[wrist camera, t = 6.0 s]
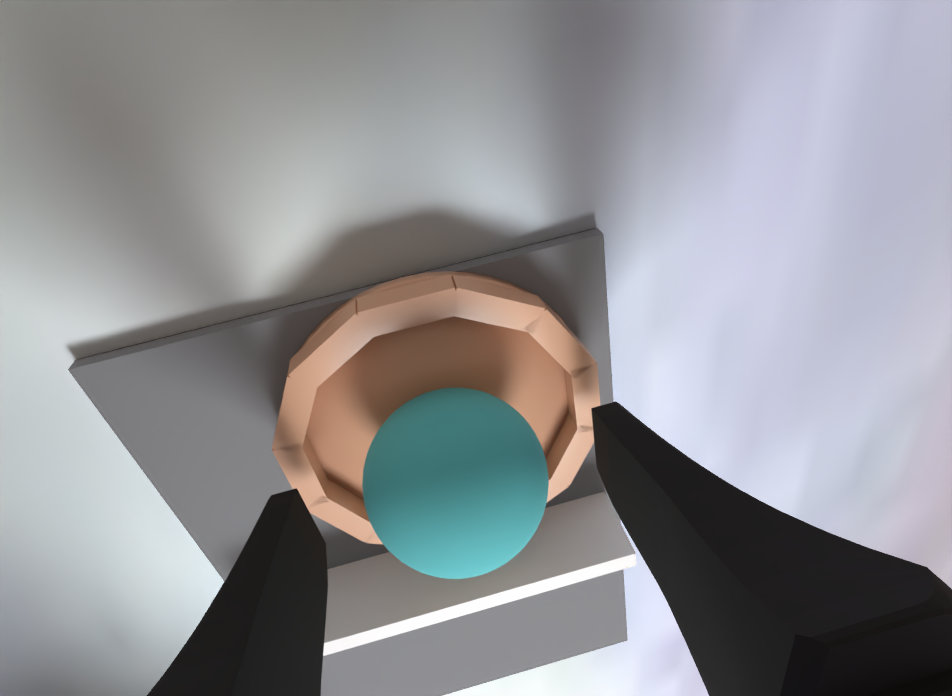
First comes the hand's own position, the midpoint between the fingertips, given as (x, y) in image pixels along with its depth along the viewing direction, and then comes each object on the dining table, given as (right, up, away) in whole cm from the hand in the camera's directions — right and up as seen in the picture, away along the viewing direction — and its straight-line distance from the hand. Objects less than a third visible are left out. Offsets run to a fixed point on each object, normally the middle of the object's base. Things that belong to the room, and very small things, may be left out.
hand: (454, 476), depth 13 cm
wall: (-1, -3, +5) cm, 6 cm away
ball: (0, +1, +2) cm, 2 cm away
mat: (-1, -3, +5) cm, 6 cm away
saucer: (-1, +1, +2) cm, 3 cm away
